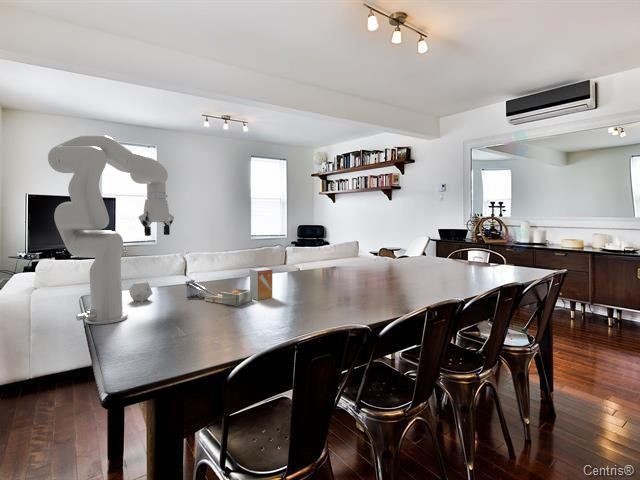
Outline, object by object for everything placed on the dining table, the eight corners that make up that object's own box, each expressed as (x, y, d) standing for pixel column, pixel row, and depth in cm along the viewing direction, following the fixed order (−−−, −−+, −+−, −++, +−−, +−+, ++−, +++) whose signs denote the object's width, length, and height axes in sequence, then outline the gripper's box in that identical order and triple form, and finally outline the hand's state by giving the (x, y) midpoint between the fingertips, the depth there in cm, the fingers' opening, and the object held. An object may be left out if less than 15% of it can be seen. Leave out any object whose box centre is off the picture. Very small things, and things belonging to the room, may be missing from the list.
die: (129, 305, 148) (144, 286, 148) (120, 292, 153) (134, 274, 153) (146, 308, 156) (160, 290, 156) (137, 296, 160) (150, 278, 160)
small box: (257, 300, 156) (257, 270, 155) (249, 298, 160) (249, 269, 159) (272, 297, 161) (272, 268, 160) (264, 295, 166) (264, 267, 165)
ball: (239, 287, 153) (231, 292, 150) (244, 296, 153) (236, 301, 150) (235, 290, 157) (227, 295, 154) (240, 298, 156) (232, 303, 153)
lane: (237, 305, 147) (237, 294, 146) (204, 300, 155) (204, 290, 154) (251, 300, 155) (251, 290, 155) (219, 296, 163) (219, 286, 163)
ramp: (211, 299, 156) (210, 284, 156) (185, 296, 163) (185, 281, 162) (218, 297, 160) (218, 282, 160) (193, 294, 167) (193, 279, 167)
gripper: (167, 197, 168) (168, 234, 169) (133, 195, 153) (134, 236, 154) (178, 197, 164) (179, 234, 165) (144, 195, 149) (145, 236, 150)
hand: (157, 235), depth 160 cm, fingers open, 9 cm apart
